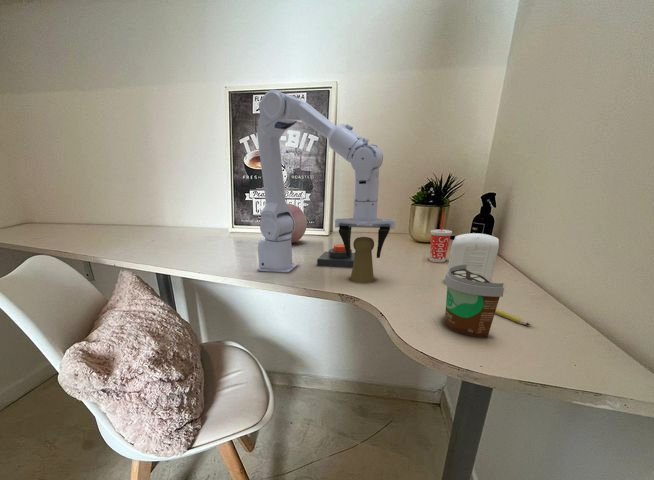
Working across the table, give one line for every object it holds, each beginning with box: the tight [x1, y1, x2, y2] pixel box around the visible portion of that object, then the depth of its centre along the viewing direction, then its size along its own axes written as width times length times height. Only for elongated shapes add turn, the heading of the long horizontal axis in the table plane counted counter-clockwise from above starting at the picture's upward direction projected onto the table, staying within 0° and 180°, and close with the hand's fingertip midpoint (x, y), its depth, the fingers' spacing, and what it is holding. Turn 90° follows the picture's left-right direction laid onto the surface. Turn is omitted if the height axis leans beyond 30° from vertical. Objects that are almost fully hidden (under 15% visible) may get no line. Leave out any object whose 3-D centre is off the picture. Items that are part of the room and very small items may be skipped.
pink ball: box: [287, 203, 308, 244], centre depth 129 cm, size 15×15×15 cm
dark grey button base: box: [316, 247, 355, 269], centre depth 103 cm, size 12×10×4 cm
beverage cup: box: [429, 213, 453, 263], centre depth 101 cm, size 6×6×14 cm
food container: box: [443, 265, 505, 338], centre depth 59 cm, size 12×6×10 cm, turn 5°
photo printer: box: [446, 232, 500, 283], centre depth 80 cm, size 10×4×12 cm, turn 72°
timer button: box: [333, 243, 346, 252], centre depth 102 cm, size 4×4×2 cm
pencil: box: [494, 308, 531, 326], centre depth 66 cm, size 1×14×1 cm, turn 24°
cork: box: [350, 236, 375, 283], centre depth 86 cm, size 6×6×11 cm
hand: (363, 256), depth 86 cm, fingers open, 7 cm apart
